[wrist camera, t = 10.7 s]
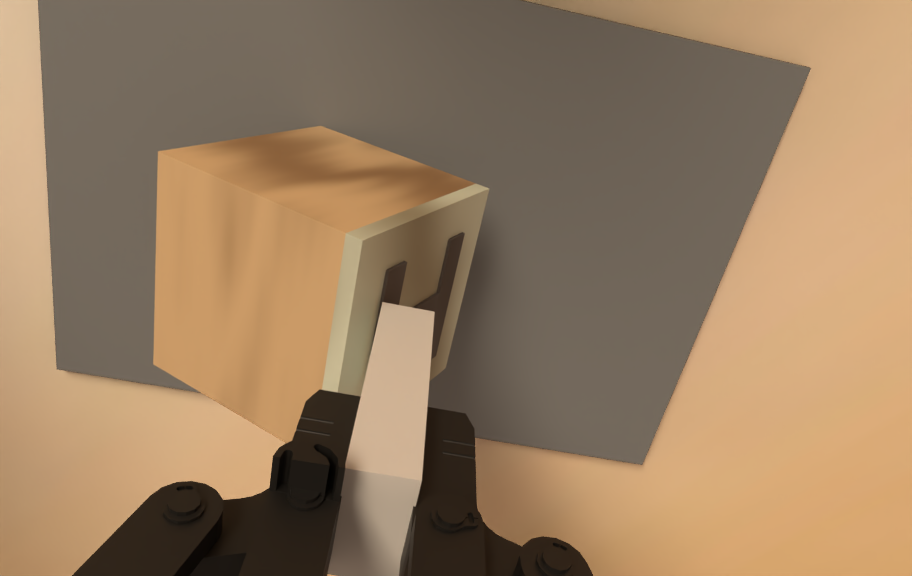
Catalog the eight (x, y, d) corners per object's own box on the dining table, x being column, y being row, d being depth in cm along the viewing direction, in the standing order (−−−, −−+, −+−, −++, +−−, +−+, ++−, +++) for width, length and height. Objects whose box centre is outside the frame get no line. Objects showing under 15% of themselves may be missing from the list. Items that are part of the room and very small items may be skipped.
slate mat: (61, 363, 29) (56, 369, 29) (39, -113, 21) (32, -114, 21) (639, 458, 32) (642, 464, 32) (805, 66, 24) (811, 68, 24)
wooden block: (448, 369, 25) (299, 296, 28) (492, 189, 22) (320, 125, 24) (328, 468, 19) (153, 364, 22) (366, 241, 16) (157, 151, 19)
